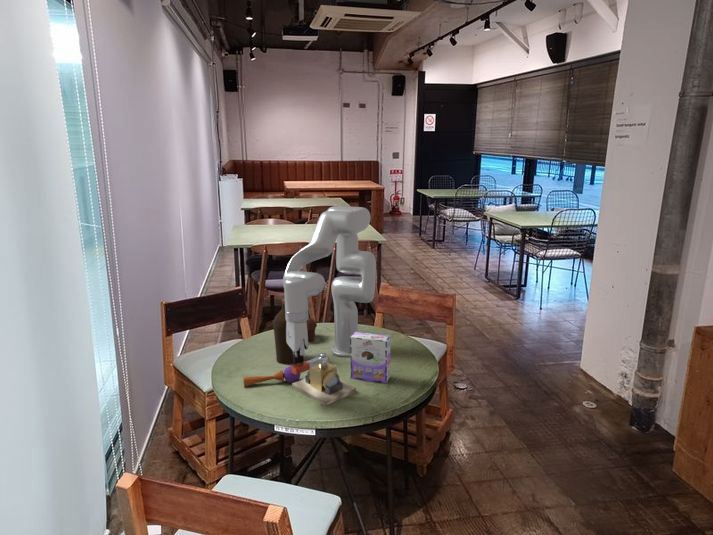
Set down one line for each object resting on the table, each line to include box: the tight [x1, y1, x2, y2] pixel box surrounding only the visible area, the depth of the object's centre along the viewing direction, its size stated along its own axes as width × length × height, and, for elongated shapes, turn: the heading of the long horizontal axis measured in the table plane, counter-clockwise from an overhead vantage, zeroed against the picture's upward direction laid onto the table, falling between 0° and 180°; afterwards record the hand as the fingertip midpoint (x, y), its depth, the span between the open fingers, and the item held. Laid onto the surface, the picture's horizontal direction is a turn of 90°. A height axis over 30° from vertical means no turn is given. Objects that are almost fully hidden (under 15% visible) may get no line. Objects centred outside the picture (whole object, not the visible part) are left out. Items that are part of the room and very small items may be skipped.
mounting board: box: [291, 377, 357, 407], centre depth 171 cm, size 14×18×2 cm
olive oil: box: [272, 298, 293, 365], centre depth 192 cm, size 11×11×25 cm
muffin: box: [306, 316, 318, 344], centre depth 214 cm, size 12×11×10 cm
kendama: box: [243, 365, 302, 388], centre depth 176 cm, size 6×6×20 cm
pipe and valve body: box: [304, 362, 343, 395], centre depth 170 cm, size 7×13×7 cm, turn 44°
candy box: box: [349, 331, 391, 384], centre depth 178 cm, size 14×6×16 cm, turn 71°
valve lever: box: [290, 352, 329, 375], centre depth 165 cm, size 14×3×4 cm, turn 135°
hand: (298, 366), depth 165 cm, fingers closed
